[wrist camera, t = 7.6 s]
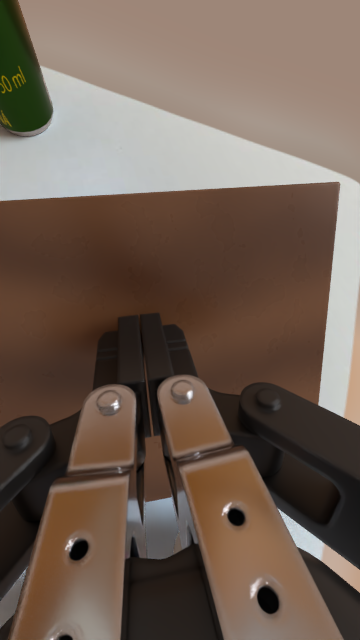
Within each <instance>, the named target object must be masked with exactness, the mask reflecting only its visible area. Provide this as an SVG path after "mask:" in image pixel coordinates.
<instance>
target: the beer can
mask: <svg viewBox="0 0 360 640" xmlns="http://www.w3.org/2000/svg"><path fill="white" fill-rule="evenodd" d="M52 115H53V106H52V102H51V99H50V96H49V93H48V90H47V87H46V84H45V81H44V78H43V75H42V72H41V69H40V66H39V63H38V59H37V57H36V53H35V50H34V47H33V44H32V41H31V39H30V35H29V32H28V29H27V27H26V23H25V20H24V17H23V15H22V11H21V8H20V5H19V2H18V0H0V124H1V125H2V126H3V127H4V128H5V129H7V130H8V131H9V132H11V133H13V134H15V135H18V136H25V137H26V136H34V135H37V134H40V133H42V132H43V131H44V130H46V129H47V128H48V126H49V125H50V124H51V120H52Z"/></svg>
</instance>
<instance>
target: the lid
mask: <svg viewBox="0 0 360 640" xmlns="http://www.w3.org/2000/svg"><path fill="white" fill-rule="evenodd" d="M339 191H340V183H339V182H328V183H310V184H292V185H275V186H257V187H239V188H222V189H204V190H187V191H169V192H151V193H134V194H116V195H98V196H81V197H63V198H46V199H28V200H10V201H0V427H2V426H3V425H4V424H6V423H8V422H10V421H12V420H14V419H16V418H19V417H23V416H30V415H31V416H39V417H42V418H44V419H45V420H46V421H47V422H48V423H49V425H50V424H52V423H55V422H57V421H60V420H62V419H65V418H67V417H69V416H71V415H73V414H75V413H77V412H78V411H79V410H81V408H82V405H83V402H84V400H85V398H86V397H87V396H88V395H89V394H90V393H91V392H92V390H93V381H94V372H95V363H96V354H97V345H98V340H99V339H100V338H101V336H102V335H103V334H104V333H105V332H110V331H118V317H122V316H131V315H138V318H139V327H140V335H141V344H142V352H143V361H144V370H145V379H146V389H147V398H148V407H149V416H150V426H151V435H152V437H148V438H145V444H146V457H145V464H146V474H145V502H149V501H154V500H159V499H165V498H170V497H171V493H170V488H169V484H168V479H167V474H166V470H165V465H164V461H163V452H162V443H161V436H154V433H153V425H152V416H151V407H150V399H149V390H148V381H147V373H146V364H145V355H144V346H143V338H142V329H141V320H140V314H149V313H158V312H159V313H160V317H161V322H162V325H169V324H176V325H177V326H178V327H179V328H180V329H182V330H183V332H184V335H185V338H186V341H187V344H188V347H189V350H190V353H191V356H192V359H193V362H194V365H195V368H196V371H197V374H198V377H199V379H201V380H202V381H203V382H204V383H205V384H206V386H207V387H208V388H210V389H211V390H214V391H216V392H220V393H226V394H236V395H240V394H241V392H242V390H243V389H244V388H245V387H246V386H248V385H250V384H253V383H257V382H266V383H272V384H275V385H277V386H280V387H282V388H284V389H286V390H288V391H290V392H292V393H294V394H296V395H298V396H300V397H302V398H304V399H306V400H308V401H310V402H312V403H314V404H316V405H318V401H319V391H320V381H321V371H322V361H323V351H324V341H325V331H326V321H327V311H328V301H329V291H330V281H331V271H332V261H333V251H334V241H335V231H336V221H337V211H338V201H339Z"/></svg>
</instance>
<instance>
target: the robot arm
mask: <svg viewBox="0 0 360 640" xmlns="http://www.w3.org/2000/svg"><path fill="white" fill-rule="evenodd" d="M140 320H141V329H142V338H143V346H144V355H145V364H146V373H147V381H148V390H149V399H150V407H151V416H152V425H153V433H154V436H161V443H162V452H163V461H164V465H165V470H166V474H167V479H168V484H169V488H170V493H171V497H172V502H173V506H174V511H175V515H176V520H177V524H178V530H179V536H180V542H181V548H182V550H181V551H179V552H177V553H175V554H174V555H172V556H170V557H168V558H166V559H148V558H147V549H146V533H145V474H146V464H145V457H146V444H145V438H148V437H152V435H151V426H150V416H149V407H148V398H147V389H146V379H145V370H144V361H143V352H142V344H141V335H140V327H139V318H138V315H131V316H122V317H118V331H110V332H105V333H104V334H103V335H102V336H101V338H100V339H99V340H98V345H97V354H96V363H95V372H94V381H93V390H92V392H91V393H90V394H89V395H88V396H87V397H86V398H85V400H84V402H83V405H82V408H81V410H79V411H78V412H77V413H75V414H73V415H71V416H69V417H67V418H65V419H62V420H60V421H57V422H55V423H52V424H50V425H49V423H48V422H47V421H46V420H45V419H44V418H42V417H39V416H31V415H30V416H23V417H19V418H16V419H14V420H12V421H10V422H8V423H6V424H4V425H3V426H2V427H0V601H1V600H2V598H3V597H4V596H5V594H6V593H7V592H8V591H9V589H10V588H11V587H12V586H13V584H14V583H15V582H16V580H17V579H18V578H19V577H20V575H21V574H22V573H23V572H24V570H25V569H26V568H27V566H28V568H27V572H26V575H25V579H24V582H23V586H22V590H21V593H20V597H19V600H18V604H17V608H16V611H15V614H14V615H13V616H12V617H11V618H10V619H9V620H8V621H7V622H6V623H5V624H4V625H3V626H2V627H1V629H0V640H360V593H359V592H358V591H357V590H356V589H354V588H353V587H352V586H350V584H348V583H347V582H346V581H345V580H344V579H342V578H341V577H340V576H339V575H338V574H336V573H335V572H334V571H333V570H332V569H330V568H329V567H328V566H327V565H325V564H324V563H323V562H322V561H320V560H319V559H317V558H316V557H314V556H313V555H311V554H310V553H308V552H306V551H304V550H302V549H300V548H298V547H297V546H296V544H295V542H294V541H293V539H292V537H291V535H290V533H289V531H288V529H287V527H286V525H285V523H284V521H283V519H282V517H281V515H280V513H279V511H278V509H280V510H281V511H282V512H284V513H285V514H286V515H288V516H289V517H290V518H292V519H293V520H294V521H296V522H297V523H298V524H300V525H301V526H302V527H304V528H305V529H306V530H308V531H309V532H310V533H312V534H313V535H314V536H316V537H317V538H318V539H320V540H321V541H322V542H324V543H325V544H326V545H328V546H329V547H330V548H332V549H333V550H334V551H336V552H337V553H338V554H340V555H341V556H342V557H344V558H345V559H346V560H348V561H349V562H350V563H352V564H353V565H354V566H356V567H357V568H358V569H360V426H359V425H357V424H355V423H353V422H351V421H349V420H347V419H345V418H343V417H341V416H339V415H337V414H335V413H333V412H331V411H329V410H327V409H325V408H323V407H321V406H319V405H316V404H314V403H312V402H310V401H308V400H306V399H304V398H302V397H300V396H298V395H296V394H294V393H292V392H290V391H288V390H286V389H284V388H282V387H280V386H277V385H275V384H272V383H266V382H257V383H253V384H250V385H248V386H246V387H245V388H244V389H243V390H242V392H241V394H240V395H236V394H226V393H220V392H216V391H214V390H211V389H210V388H208V387H207V386H206V384H205V383H204V382H203V381H202V380H201V379H199V377H198V374H197V371H196V368H195V365H194V362H193V359H192V356H191V353H190V350H189V347H188V344H187V341H186V338H185V335H184V332H183V330H182V329H180V328H179V327H178V326H177V325H176V324H169V325H162V322H161V317H160V313H159V312H158V313H149V314H140ZM277 508H278V509H277Z"/></svg>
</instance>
